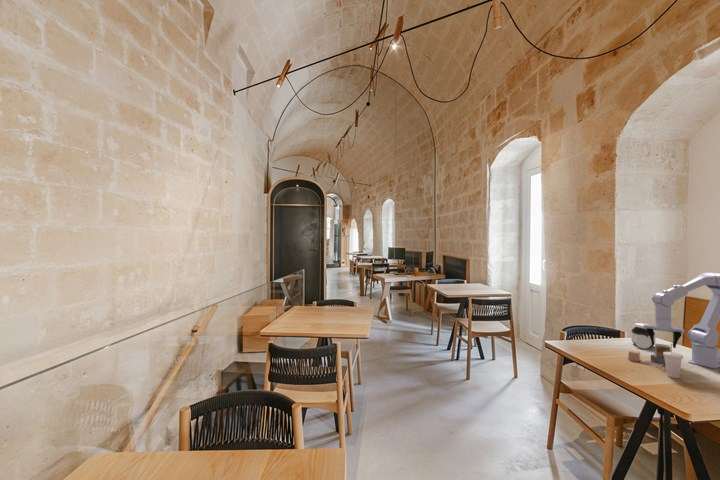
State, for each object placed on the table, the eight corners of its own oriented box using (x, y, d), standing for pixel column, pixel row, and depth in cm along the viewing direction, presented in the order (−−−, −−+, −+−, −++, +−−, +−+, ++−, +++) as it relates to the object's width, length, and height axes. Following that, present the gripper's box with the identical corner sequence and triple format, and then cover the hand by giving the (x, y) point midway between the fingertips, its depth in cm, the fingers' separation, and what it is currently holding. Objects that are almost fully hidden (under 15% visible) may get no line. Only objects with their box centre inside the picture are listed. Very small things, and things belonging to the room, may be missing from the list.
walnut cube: (668, 355, 165) (668, 345, 165) (670, 358, 160) (670, 347, 160) (655, 353, 167) (655, 343, 167) (656, 356, 163) (656, 346, 163)
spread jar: (647, 343, 194) (647, 323, 194) (663, 350, 182) (663, 328, 182) (625, 343, 195) (625, 322, 195) (639, 349, 184) (639, 327, 184)
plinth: (675, 364, 162) (675, 357, 162) (668, 367, 159) (668, 359, 159) (657, 359, 169) (657, 352, 169) (650, 362, 165) (650, 355, 165)
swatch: (663, 364, 161) (663, 364, 161) (657, 367, 158) (657, 366, 158) (646, 360, 167) (646, 359, 167) (639, 363, 163) (639, 362, 163)
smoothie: (662, 372, 152) (662, 341, 152) (682, 375, 148) (682, 343, 148) (663, 376, 147) (663, 344, 147) (683, 380, 143) (683, 347, 143)
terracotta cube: (639, 359, 168) (639, 351, 168) (638, 361, 165) (638, 353, 165) (629, 357, 171) (629, 349, 171) (628, 359, 168) (628, 351, 168)
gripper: (682, 318, 163) (682, 346, 163) (642, 314, 171) (643, 341, 171) (685, 321, 157) (685, 350, 157) (644, 317, 166) (644, 345, 166)
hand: (663, 346), depth 164 cm, fingers open, 7 cm apart
